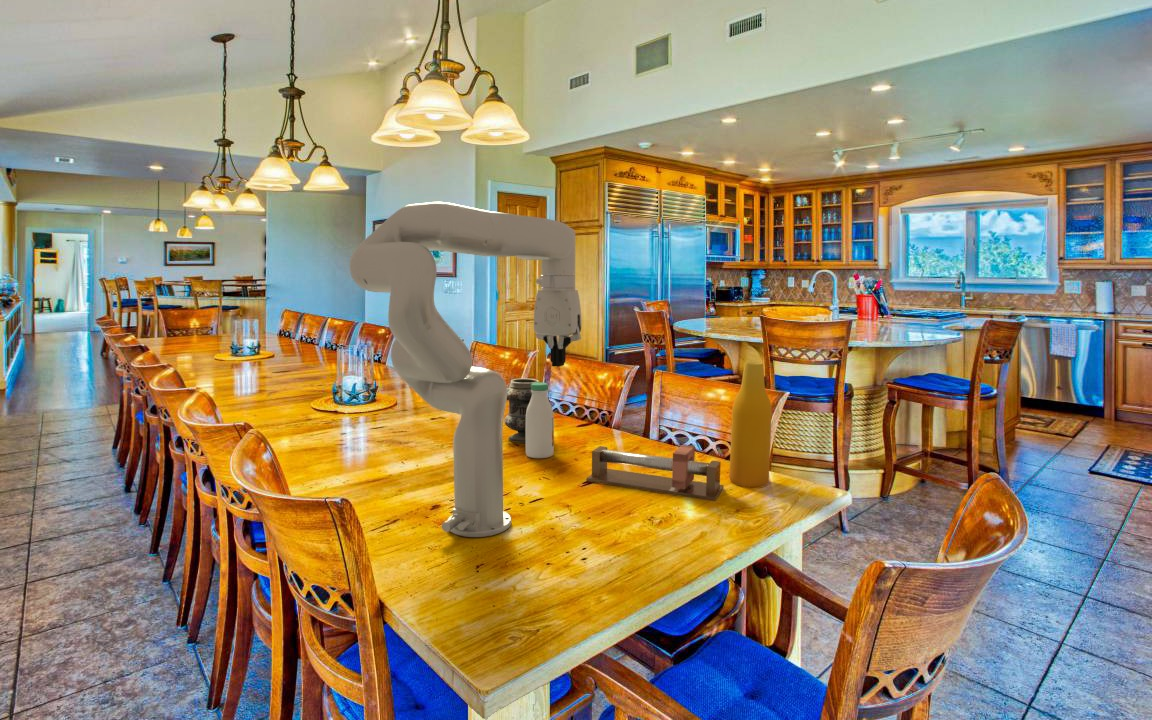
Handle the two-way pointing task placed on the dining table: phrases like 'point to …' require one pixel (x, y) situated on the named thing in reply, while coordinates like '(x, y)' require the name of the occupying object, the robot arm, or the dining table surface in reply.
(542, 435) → the milk bottle
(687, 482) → the collar
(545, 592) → the dining table surface
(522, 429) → the apothecary jar
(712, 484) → the pipe rig
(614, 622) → the dining table surface
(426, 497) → the dining table surface
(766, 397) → the beer bottle
